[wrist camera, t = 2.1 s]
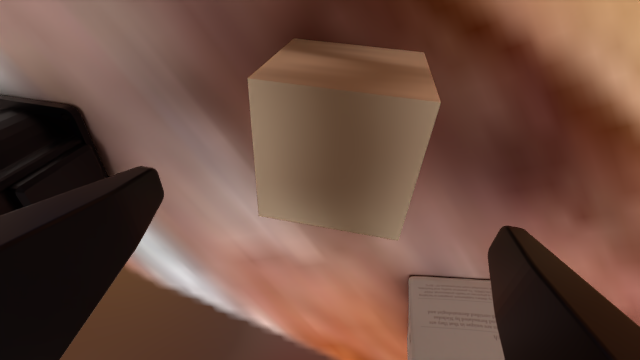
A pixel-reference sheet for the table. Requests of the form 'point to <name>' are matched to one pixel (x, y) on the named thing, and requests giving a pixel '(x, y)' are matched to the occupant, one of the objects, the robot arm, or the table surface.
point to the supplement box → (451, 320)
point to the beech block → (341, 134)
